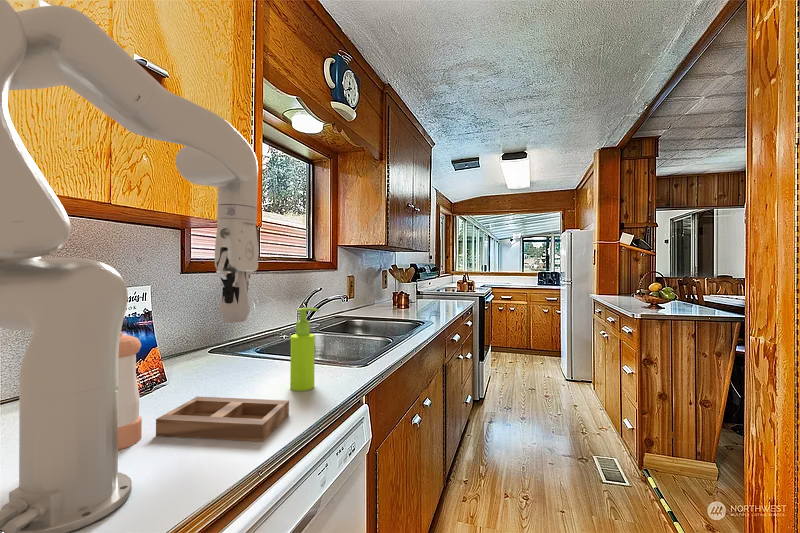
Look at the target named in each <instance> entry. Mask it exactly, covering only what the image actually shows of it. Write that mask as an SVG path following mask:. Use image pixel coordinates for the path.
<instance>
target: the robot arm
mask: <svg viewBox="0 0 800 533" xmlns="http://www.w3.org/2000/svg"><path fill="white" fill-rule="evenodd" d="M59 86H60V87H61V86H65V87H68V88H69V89H70V90H72V91H74V92H75V93H76V94H78V95H79V96H80V97H82V98H84V99H85V100H86V101H87V102H89V103H90V104H92V105H93V106H94V107H96V108H97V109H98V110H100V111H101V112H102V113H104V114H105V115H106V116H108V117H109V118H110V119H112V120H113V121H115V122H116V123H117V124H119V125H120V126H121V127H123V129H125V130H126V131H128V132H130V133H132V134H134V135H138V136H142V137H145V138H148V139H150V140H151V139H152V140H156V141H161V142H165V143H171V144H177V145H182V146H183V147H182V148H181V149H180V150H179V151H177V154H176V157H175V166H176V169H177V172H178V173H179V174H180V176H181V177H182V178H184V179H185V180H186V181H188V182H189V183H192V184H195V185H198V186H206V187H208V186H209V187H215V188H217V207H216V208H217V210H216V211H217V213H216V223H217V227H216V235H215V245H214V266H215V269H216V272H215V273H216V275H217V276H218V277H219V278H220V280H221V283H220V284H221V287H222V292H221V293H222V294H221V295H222V297H221V300H222V302H223V298H224V301H225V303H232V302H233V297H234V293H235V297H236V300H237V303H238V299H239V287H237V285H238V272H239V271H244V273H245V280H246V286H247V293H248V294H249V285H250V278H251V277H252V275H253V273H254V272H256V271H257V270H258V269H259V242H258V232H257V227H256V226H257V219H258V218H257V217H258V182H259V180H258V177H259V175H258V174H259V166H258V159H257V156H256V153H255V152H254V149H253V148H252V147H251V145H250V144H249V142H248V141H247V139H245V138H244V136H243V135H241V133H240V132H239V131H238V130H237V129H236V128H235V127H234V126H233V125H232V124H231V123H230V122H228V121H227V120H226V119H225V118H223V117H222V116H220V115H219V114H217V113H215V112H213V111H211V110H209V109H207V108H205V107H203V106H200V105H198V104H196V103H195V102H192V101H191V100H188V99H187V98H185V97H182V96H179V95H177V94H175V93H173V92H171V91H169V90H167V89H166V88H165V87H164V86H163V85H162V84H161V83H160V82H159V81H158V80H156V79H155V78H154V76H152V75H151V74H150V73H149V72H148V71H147V70H146V69H145V68H144V67H142V65H140V64H139V63H138V62H137V61H136V60H135V59H134V58H133V57H132V56H131V55H130V54H128V52H127V51H126V50H125V49H124V48H123V47H122V46H120V44H118V43H117V42H116V41H115V40H114V39H113V38H112V37H111V36H110V35H109V34H108V33H107V32H106V31H104V29H102V27H100V26H99V25H98V24H97V23H96V22H95V21H93V20H92V18H90V17H89V16H88V15H86V14H84V13H83V12H81V11H79V10H78V9H76V8H72V7H69V6H65V5H58V4H56V5H45V6H44V5H43V6H37V7H32V8H28V9H24V10H20V11H19V10H18V11H16V10H15V8H13V6H12V5H11V4H10V3H9V1H8V0H0V328H2V329H7V330H15V331H28V332H32V335H31V336H30V340H29V343H28V345H27V347H26V349H25V351H24V354H23V357H22V360H21V364H20V368H19V375H18V376H19V377H18V378H19V379H18V396H19V401H18V402H19V404H18V405H19V406H18V407H19V411H18V418H19V420H18V422H19V424H18V428H19V429H18V430H19V431H18V432H19V433H18V435H19V436H18V438H19V439H18V442H19V443H18V456H19V457H18V478H19V479H18V487H17V488H14V489H13V490H11V491H9V492H8V502H7V503H5V504H4V505H3V506H2V507H1V509H0V530H2V532H4V533H70V532H72V531H76V530H78V529H81V528H83V527H86V526H88V525H90V524H91V525H92V524H93V523H95V522H97V521H98V520H99V521H100V520H101V519H104V517H106V516H108V515H109V514H111V513H112V512H114V511H115V510H117V509H118V508H119V507H121V506H122V505H123V504H124V502H126V500H127V499H128V498H129V496H130V495H131V492H132V488H133V486H132V484H133V482H132V479H131V477H130V476H129V475H127V474H125V473H123V472H119V471H118V470H119V468H118V467H119V464H118V462H119V461H118V460H119V456H118V455H119V450H118V353H119V341H120V334H121V332H122V329H123V328H122V327H123V323H124V319H125V315H126V311H127V307H128V306H127V305H128V300H129V299H128V298H129V297H128V295H129V294H128V288H127V284H126V282H125V280H124V278H123V276H122V275H121V274H120V273H119V272H118V271H117V270H116V269H115V268H114V267H112V266H111V265H108V264H107V263H104V262H102V261H98V260H95V259H90V258H85V257H84V258H81V257H44V256H48V255H50V254H53V253H56V252H57V251H58V250H61V248H63V247H64V246H65V244H66V243H67V242H68V241H69V239H70V237H71V231H72V227H71V221H70V218H69V216H68V213H67V211H66V210H65V208H64V206H63V204H62V202H61V201H60V199H59V197H58V196H57V195H56V193H55V191H54V190H53V188H52V187H51V185H50V184H49V182H48V180H47V179H46V178H45V176H44V175H43V172H42V171H41V170H40V169H39V167H38V165H37V163H36V162H35V161H34V160H33V158H32V156H31V154H30V153H29V152H28V150H27V148H26V147H25V144H24V143H23V141H22V139H21V138H20V135H19V134H18V132H17V130H16V128H15V126H14V124H13V122H12V118H11V116H10V115H11V114H10V111H9V104H8V101H9V100H8V97H9V91H19V90H20V91H21V90H22V91H23V90H25V91H26V90H36V89H37V90H38V89H46V88H47V89H48V88H54V87H59ZM227 268H234V271H228V269H227ZM231 274H233V278H232V276H231ZM224 296H225V297H224Z"/></svg>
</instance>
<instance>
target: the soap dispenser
mask: <svg viewBox="0 0 800 533" xmlns="http://www.w3.org/2000/svg"><path fill="white" fill-rule="evenodd" d="M296 311H297V312H299V320H297V321H296V322H295V334H292V335H290V370H289V371H290V381H289V382H290V383H289V384H290V385H289V386H290V390H291V391H297V392H298V391H299V392H303V391H310V390H311V389H314V388H315V361H316V360H315V359H316V357H315V353H316V351H315V349H316V348H315V342H316V340H315V338H316V335H315V334H314V333H311V331H310V330H311V326H310V325H311V324H310V323H311V322H310V320H308V319H307V312H310V311H311V312H319V311H320V309H319V308H315V307H301V308H297V309H296Z"/></svg>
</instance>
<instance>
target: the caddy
mask: <svg viewBox="0 0 800 533" xmlns="http://www.w3.org/2000/svg"><path fill="white" fill-rule="evenodd" d="M289 416H290V400H288V399H287V400H283V399H282V400H281V399H263V398H243V397H242V398H241V397H240V398H237V397H236V398H235V397H219V396H217V397H216V396H214V397H213V396H196V397H194V398H192V399H190V400H188V401H187V402H185V403H183V404H181V405H179V406H177V407H176V408H173V409H172V410H170V411H169V412H166V413H165V414H162V415H161V416H159V417H158V418H156V419H155V436H156V437H171V438H187V439H191V438H192V439H207V440H224V441H225V440H226V441H246V442H259V443H260V442H261V443H263V442H264V441H265V440H266V439H267V438H268V437H269V436H270V435H271V434H272V433H273V432H274V431H275V430H276V429H277V428H278V427H279V426H280V424H282V423H283V422H284V421H285V420H286V419H287V418H288V417H289Z"/></svg>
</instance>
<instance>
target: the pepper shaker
mask: <svg viewBox="0 0 800 533" xmlns="http://www.w3.org/2000/svg"><path fill="white" fill-rule="evenodd" d="M141 347H142V343H141V341H140V339H139V338H138V337H136V336H132V335H129V334H124V333H123V332H122V331H121V334H120V341H119V353H118V451H119V450H122V449H125V448H128V447H130V446H133V445H134V444H136V443H138V442H139V441H140V440H141V439H142V434H143V432H142V430H143V429H142V426H143V425H142V420H143V419H142V416H141V415H140V402H141V401H140V400H141V399H140V392H139V387H138V381H137V373H136V372H137V357H136V356H137V354H138V353H140V350H141Z"/></svg>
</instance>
